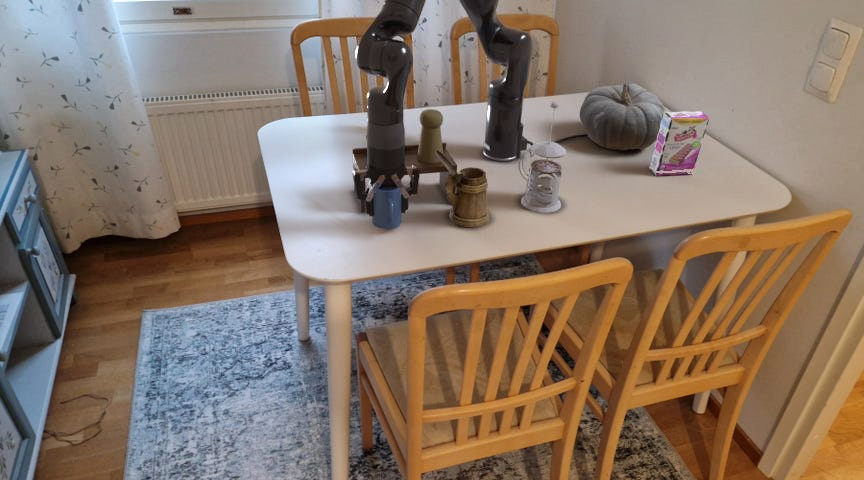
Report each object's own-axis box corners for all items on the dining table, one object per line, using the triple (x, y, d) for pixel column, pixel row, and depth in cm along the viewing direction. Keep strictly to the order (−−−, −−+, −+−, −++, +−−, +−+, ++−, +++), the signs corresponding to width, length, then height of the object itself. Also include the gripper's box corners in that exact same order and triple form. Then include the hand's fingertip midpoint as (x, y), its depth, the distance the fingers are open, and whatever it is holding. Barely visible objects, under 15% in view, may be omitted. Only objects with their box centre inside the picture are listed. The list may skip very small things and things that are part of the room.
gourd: (635, 113, 200) (647, 62, 188) (677, 158, 184) (693, 105, 172) (563, 126, 194) (570, 74, 182) (600, 173, 178) (611, 120, 165)
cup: (398, 213, 141) (398, 176, 136) (406, 232, 135) (406, 194, 130) (369, 216, 139) (368, 178, 134) (376, 235, 133) (375, 197, 128)
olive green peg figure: (439, 164, 143) (441, 117, 137) (413, 160, 144) (414, 114, 137) (446, 154, 148) (448, 108, 142) (421, 150, 149) (422, 104, 142)
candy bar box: (656, 177, 169) (671, 118, 160) (648, 168, 173) (662, 110, 164) (693, 175, 172) (710, 117, 162) (684, 167, 175) (700, 110, 166)
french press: (549, 217, 147) (565, 113, 133) (506, 201, 152) (517, 100, 138) (568, 201, 154) (584, 101, 140) (526, 187, 159) (538, 88, 145)
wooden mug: (424, 216, 143) (426, 141, 133) (476, 205, 149) (482, 133, 139) (442, 235, 137) (445, 158, 127) (496, 222, 143) (503, 148, 133)
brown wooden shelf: (443, 184, 157) (445, 142, 150) (455, 204, 149) (457, 160, 143) (354, 192, 150) (352, 148, 144) (361, 212, 143) (359, 167, 136)
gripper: (352, 150, 122) (356, 225, 132) (425, 145, 126) (423, 218, 136) (346, 135, 128) (350, 207, 137) (416, 131, 132) (415, 201, 142)
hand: (386, 212), depth 137 cm, fingers closed on cup, 6 cm apart
